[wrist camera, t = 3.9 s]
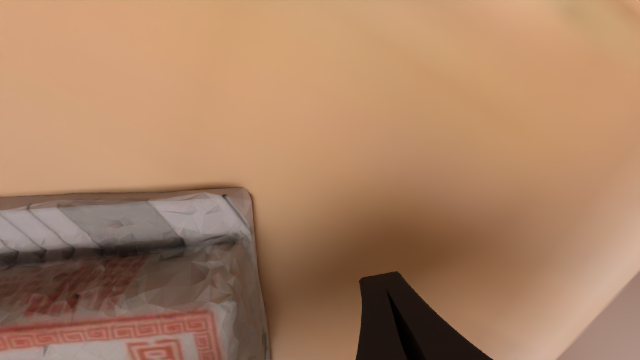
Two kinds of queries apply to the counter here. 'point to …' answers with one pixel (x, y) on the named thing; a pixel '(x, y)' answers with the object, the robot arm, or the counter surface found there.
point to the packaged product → (131, 277)
